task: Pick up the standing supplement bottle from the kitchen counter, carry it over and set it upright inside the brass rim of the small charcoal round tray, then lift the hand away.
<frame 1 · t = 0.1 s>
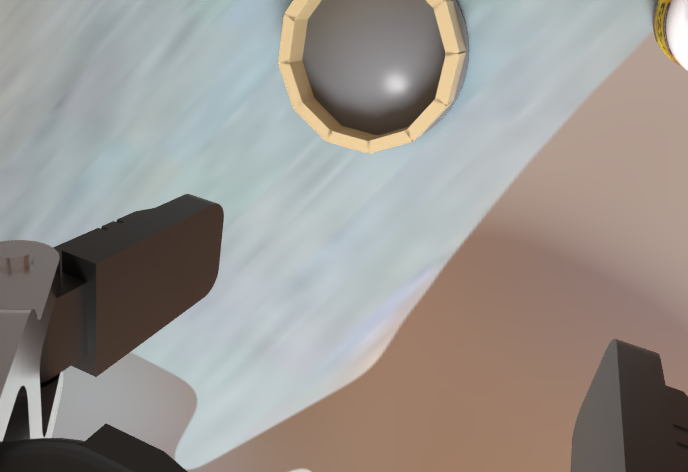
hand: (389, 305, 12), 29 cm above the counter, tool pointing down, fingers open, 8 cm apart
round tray: (378, 55, 39), on the counter
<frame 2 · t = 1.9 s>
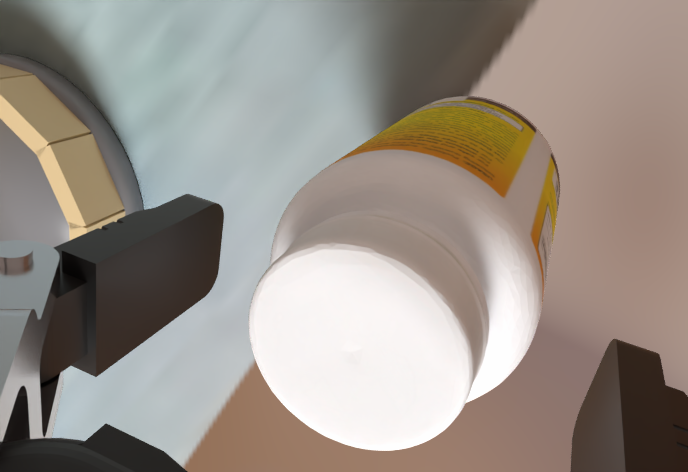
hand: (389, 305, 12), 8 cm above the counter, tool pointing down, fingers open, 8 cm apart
supplement bottle: (468, 182, 19), on the counter
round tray: (32, 196, 26), on the counter
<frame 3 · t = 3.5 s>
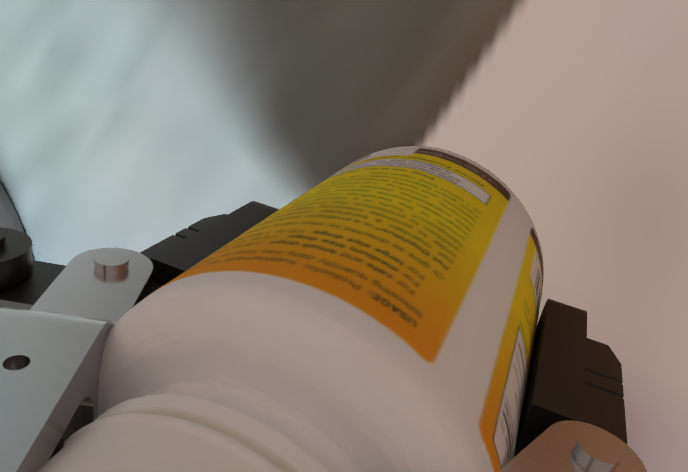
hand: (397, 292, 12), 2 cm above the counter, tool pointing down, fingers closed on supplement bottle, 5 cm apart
supplement bottle: (425, 254, 14), on the counter, touching gripper
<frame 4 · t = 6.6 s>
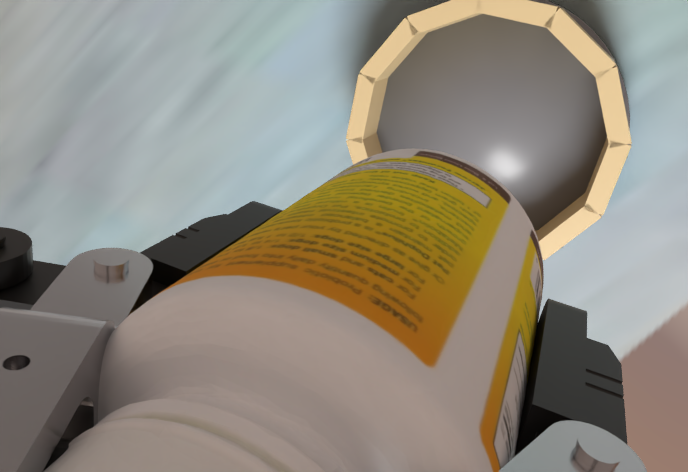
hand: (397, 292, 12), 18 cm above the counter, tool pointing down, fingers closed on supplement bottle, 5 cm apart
supplement bottle: (425, 256, 14), point 15 cm above the counter, touching gripper
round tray: (487, 129, 28), on the counter
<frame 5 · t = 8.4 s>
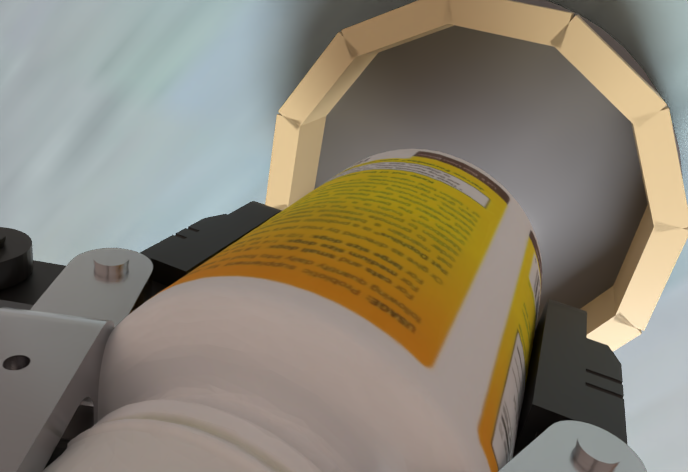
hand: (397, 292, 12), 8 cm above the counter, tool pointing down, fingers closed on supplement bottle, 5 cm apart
supplement bottle: (424, 256, 14), point 6 cm above the counter, touching gripper
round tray: (469, 188, 19), on the counter
when the fingers open (5 cm above the counter, at t = 10.0 s): supplement bottle drops 2 cm, resting on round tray.
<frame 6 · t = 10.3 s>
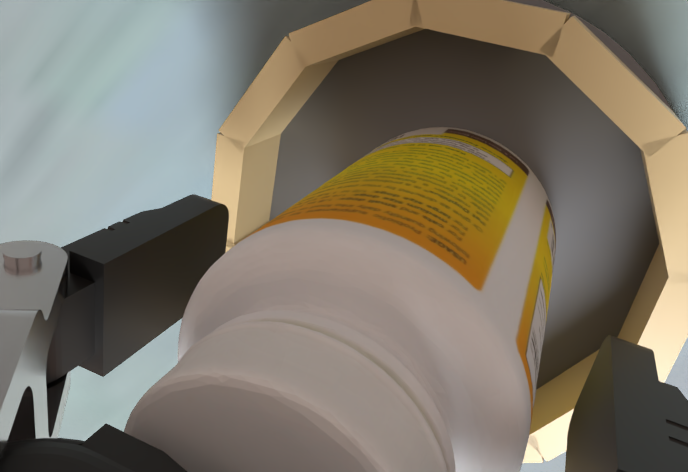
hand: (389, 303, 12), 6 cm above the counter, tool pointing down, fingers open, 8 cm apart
supplement bottle: (448, 225, 16), point 1 cm above the counter, touching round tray
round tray: (448, 219, 17), on the counter
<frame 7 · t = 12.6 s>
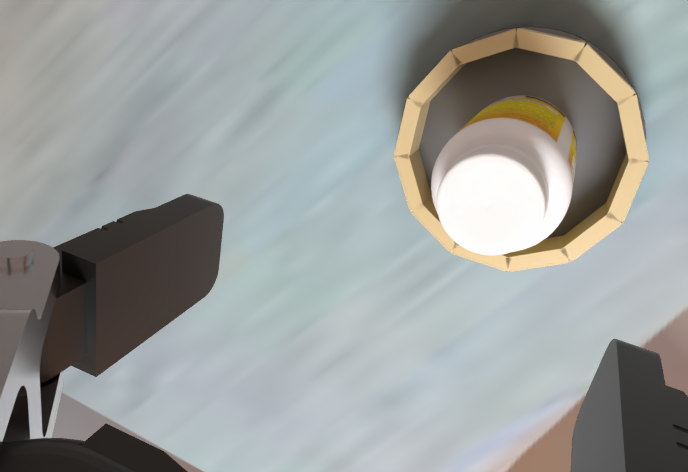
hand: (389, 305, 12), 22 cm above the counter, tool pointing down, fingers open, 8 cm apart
supplement bottle: (520, 148, 31), point 1 cm above the counter, touching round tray
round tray: (518, 146, 31), on the counter
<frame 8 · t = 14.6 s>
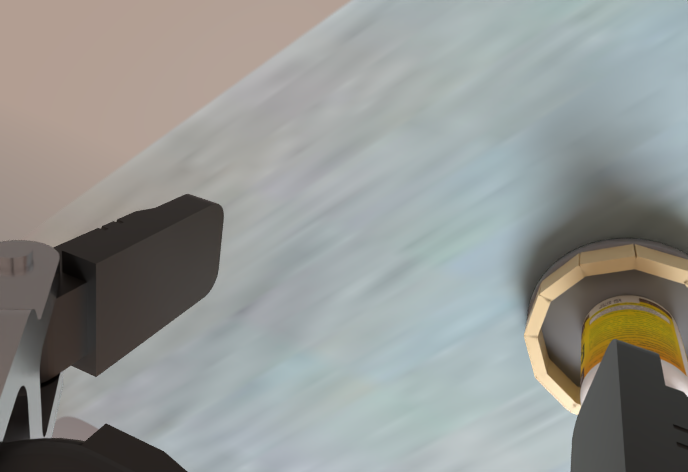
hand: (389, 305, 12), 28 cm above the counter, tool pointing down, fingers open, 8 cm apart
supplement bottle: (628, 330, 38), point 1 cm above the counter, touching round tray
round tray: (624, 325, 38), on the counter
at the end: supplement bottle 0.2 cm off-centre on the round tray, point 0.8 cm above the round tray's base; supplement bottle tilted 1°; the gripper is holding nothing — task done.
